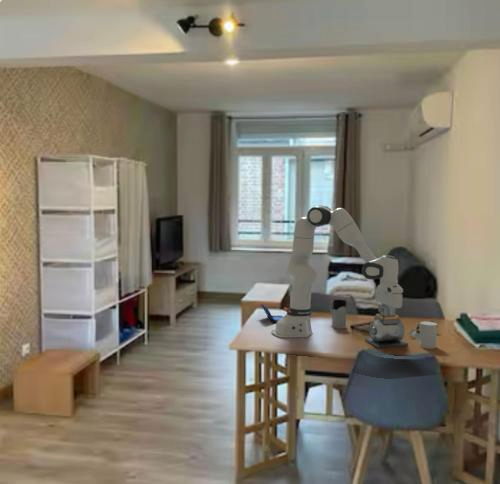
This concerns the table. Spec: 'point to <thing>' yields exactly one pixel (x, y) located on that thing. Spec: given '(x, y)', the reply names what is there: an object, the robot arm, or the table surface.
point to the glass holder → (338, 314)
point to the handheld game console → (272, 318)
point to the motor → (386, 332)
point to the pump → (385, 311)
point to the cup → (428, 335)
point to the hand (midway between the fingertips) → (387, 313)
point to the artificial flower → (416, 333)
